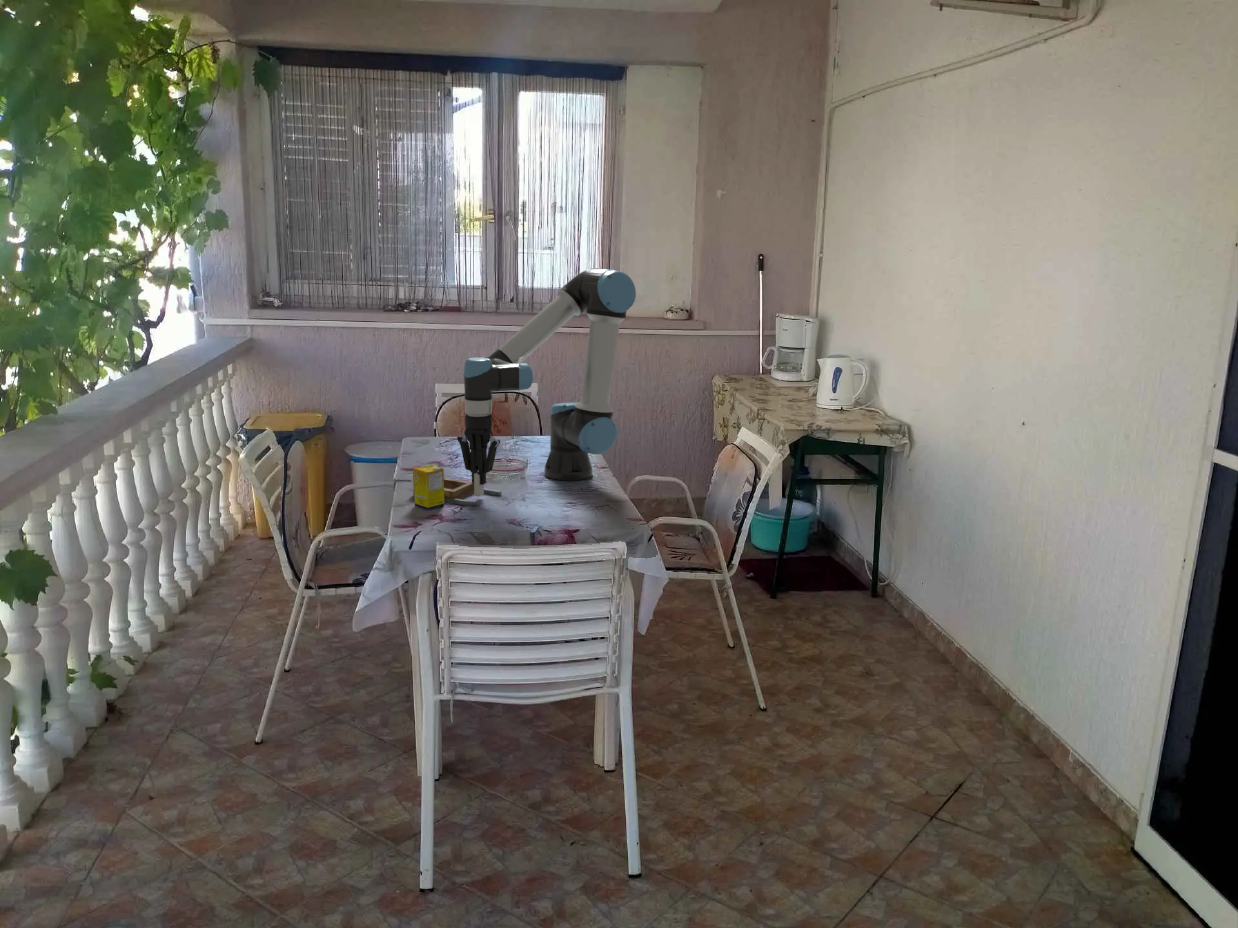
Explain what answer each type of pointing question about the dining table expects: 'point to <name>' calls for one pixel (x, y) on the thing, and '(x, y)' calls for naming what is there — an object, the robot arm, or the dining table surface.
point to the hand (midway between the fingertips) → (479, 494)
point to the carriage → (457, 488)
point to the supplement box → (429, 487)
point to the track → (465, 502)
